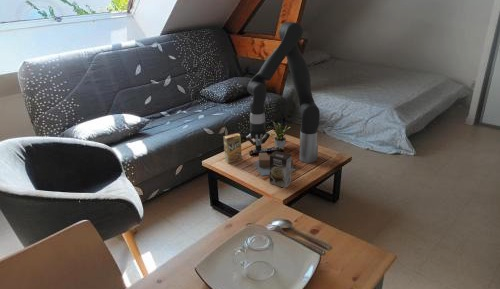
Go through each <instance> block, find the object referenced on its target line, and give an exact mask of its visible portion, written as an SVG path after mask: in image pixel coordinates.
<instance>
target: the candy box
mask: <svg viewBox="0 0 500 289" xmlns="http://www.w3.org/2000/svg"><path fill="white" fill-rule="evenodd" d="M223 151H224V159H225V160H224V161H226V162H227V163H228V164H230V163H233V162H237V161H241V160H243V158H242V157H243V155H242V138H241V134H240V133H239V132H236V133H230V134H227V135H223Z"/></svg>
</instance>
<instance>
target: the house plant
mask: <svg viewBox="0 0 500 289" xmlns="http://www.w3.org/2000/svg"><path fill="white" fill-rule="evenodd" d="M272 123H273V124H274V126H275V129H274V128H273V127H272V126H270V125H269V128H272V129H273V132H274V133H275V134H274V133H272V132H270V137H273V136H274V138H273V139H274V140H273V141H274V146H275V148H276V147H279V148H282V149H283V150H285V146H286V141H287V138H286V136H287V137H288V133H285V132H286V131H287V130H288V129H290V128H291V126H289V127H288V128H287V126H285V127H284V129H283V130H282V124H283V123H279V122H277V123H275V121H272Z"/></svg>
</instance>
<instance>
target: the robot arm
mask: <svg viewBox="0 0 500 289" xmlns="http://www.w3.org/2000/svg"><path fill="white" fill-rule="evenodd" d="M303 33H304V29H303V26H302V25H301V24H300V23H298V22H295V21H294V22H293V21H292V22H290V21H289V22H288V21H286V22H283V23H282V24H280V27H279V29H278V35H279V38H280V43H279V45H278V46H277V47H276V49H274V51H273V52H272V53H271V54H270V55H269V56H268V57H267V58H266V59H265V60H264V62H263V64H262V65H261V67H260V68H259V71H258V72H257V73H256V74H255V75H253V77H252V78H251V79H250V81H249V82H248V84H247V88H246V89H247V92H248V93H249V95H252V96H253V99H252V100H251V101H250V104H249V108H250V110H249V112H250V113H249V124H250V125H249V127H250V129H249V130H250V132H249V134H248V135H245V137H246V139H247V140H248V142H249V143H250V144H251V145H253V146H255V151H256V152H257V153H261V151H262V145H263V144H265V143H266V142H267V140H269V138H270V137H271V133H270V132H267V130H266V115H265V101H266V97H267V88H266V86H265V83H266V82H269V81H271V80H272V79H273V77H274V75H275V74H276V72H277V70H278V68H280V66H281V64H282V63H283V61H284V60H285V59H286V61H287V65H288V68H289V72H290V76H291V81H292V84H293V87H294V89H295V92H296V95H297V98H298V99H297V100H298V105H299V106H298V107H299V112H300V115H301V125H300V129H299V130H300V132H299V133H300V134H299V156H298V157H299V158H298V159H299V161H300V162H303V163H305V164H306V163H307V164H308V163H309V164H310V163H313V162H315V161H318V154H319V153H318V152H319V144H318V129H319V127H320V117H321V116H320V115H321V112H320V108H319V107H318V105H317V104H316V103H315V99H314V98H313V93H312V89H311V86H312V85H311V84H312V83H311V74H310V69H309V65H308V63H307V61H306V59H305V57H304V56H303V54H302V52H301V51H300V48H299V45H298V43H299V41H300V40H301V38H302V36H303Z"/></svg>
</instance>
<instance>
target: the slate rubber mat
mask: <svg viewBox="0 0 500 289" xmlns="http://www.w3.org/2000/svg"><path fill="white" fill-rule="evenodd" d="M253 164H254V166H255V167H256V169H257V171H258V173H259V174H260V176H261V177H266V176H270V167H259V160H255V161H253ZM291 172H296V169H295V167H294V165H292V167H291Z"/></svg>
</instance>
